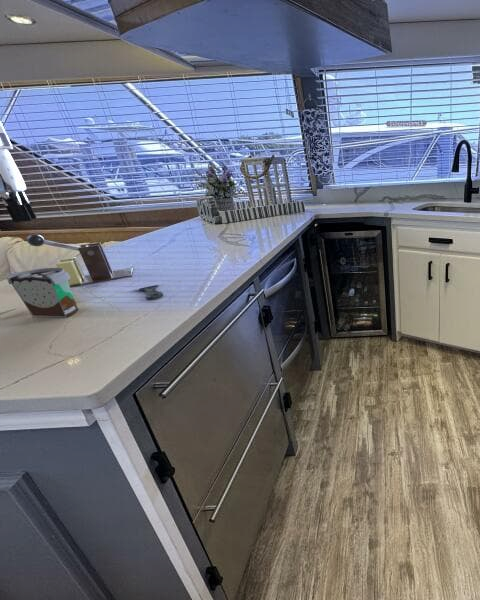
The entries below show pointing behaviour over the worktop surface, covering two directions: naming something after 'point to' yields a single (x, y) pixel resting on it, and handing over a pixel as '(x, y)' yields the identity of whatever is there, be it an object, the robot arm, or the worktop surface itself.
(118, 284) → the worktop surface
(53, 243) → the lever
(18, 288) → the food container
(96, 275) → the slicer
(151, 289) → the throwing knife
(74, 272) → the butter
